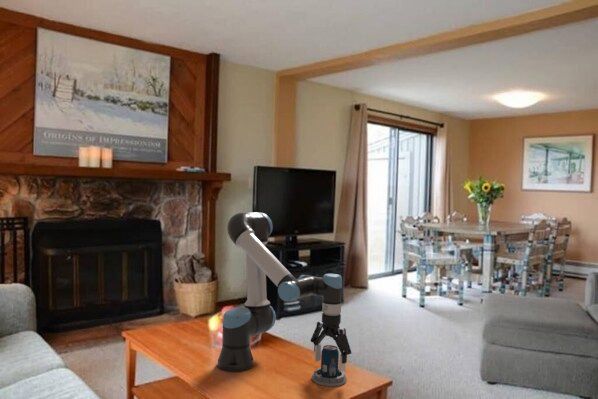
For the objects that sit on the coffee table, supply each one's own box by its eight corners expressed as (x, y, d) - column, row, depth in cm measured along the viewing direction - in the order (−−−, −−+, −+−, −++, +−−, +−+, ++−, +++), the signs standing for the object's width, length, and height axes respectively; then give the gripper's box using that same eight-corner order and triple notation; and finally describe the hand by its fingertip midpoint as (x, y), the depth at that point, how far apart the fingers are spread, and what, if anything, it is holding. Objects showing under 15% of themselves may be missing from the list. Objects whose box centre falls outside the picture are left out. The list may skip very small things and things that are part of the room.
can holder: (304, 378, 192) (304, 371, 192) (328, 369, 202) (328, 363, 202) (329, 389, 182) (329, 383, 182) (353, 380, 192) (354, 374, 191)
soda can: (327, 372, 197) (328, 343, 197) (341, 377, 192) (342, 347, 192) (317, 377, 191) (318, 347, 191) (331, 381, 187) (332, 351, 187)
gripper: (303, 307, 198) (301, 358, 198) (348, 321, 179) (346, 377, 180) (316, 305, 203) (314, 354, 203) (361, 318, 185) (359, 373, 185)
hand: (329, 365), depth 192 cm, fingers open, 13 cm apart
